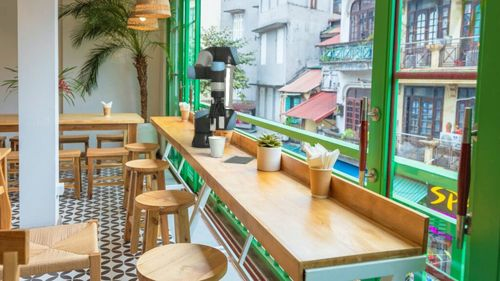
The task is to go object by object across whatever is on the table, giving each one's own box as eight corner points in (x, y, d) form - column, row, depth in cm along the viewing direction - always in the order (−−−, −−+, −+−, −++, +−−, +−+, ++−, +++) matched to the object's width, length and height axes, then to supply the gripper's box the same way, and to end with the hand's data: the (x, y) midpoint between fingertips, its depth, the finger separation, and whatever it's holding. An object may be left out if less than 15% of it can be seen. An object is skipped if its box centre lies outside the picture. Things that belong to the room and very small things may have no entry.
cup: (227, 155, 259) (227, 136, 258) (224, 158, 249) (224, 138, 248) (210, 155, 260) (210, 136, 259) (206, 158, 250) (206, 138, 249)
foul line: (231, 156, 258) (231, 155, 257) (234, 156, 257) (234, 155, 257) (220, 161, 240) (220, 160, 240) (223, 162, 240) (223, 160, 240)
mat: (234, 156, 256) (234, 156, 256) (255, 158, 253) (255, 157, 253) (223, 162, 239) (223, 161, 239) (245, 164, 236) (245, 163, 236)
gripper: (216, 90, 237) (215, 131, 239) (231, 90, 261) (231, 127, 263) (202, 90, 239) (202, 131, 241) (219, 90, 263) (218, 127, 265)
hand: (217, 129), depth 252 cm, fingers open, 13 cm apart
